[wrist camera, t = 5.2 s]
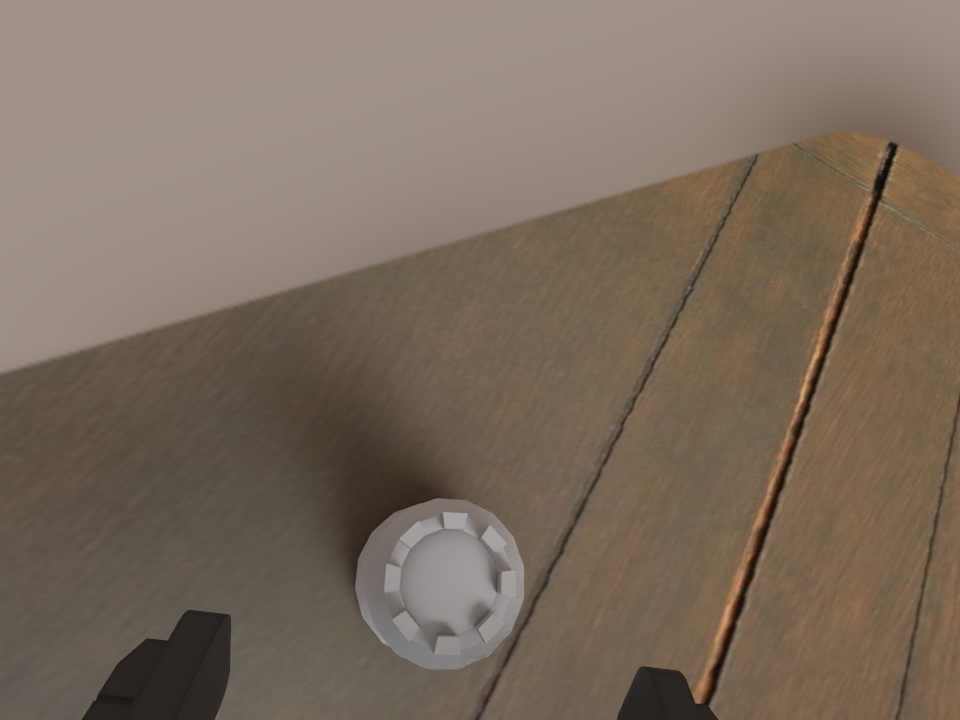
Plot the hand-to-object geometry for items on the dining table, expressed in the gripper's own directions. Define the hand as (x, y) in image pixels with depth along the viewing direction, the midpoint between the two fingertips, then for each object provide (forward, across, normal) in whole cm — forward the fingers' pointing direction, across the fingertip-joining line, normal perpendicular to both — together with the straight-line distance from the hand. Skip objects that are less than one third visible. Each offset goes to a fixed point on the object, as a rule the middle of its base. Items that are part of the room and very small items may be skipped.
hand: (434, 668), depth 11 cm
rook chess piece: (+6, 0, +4) cm, 7 cm away
